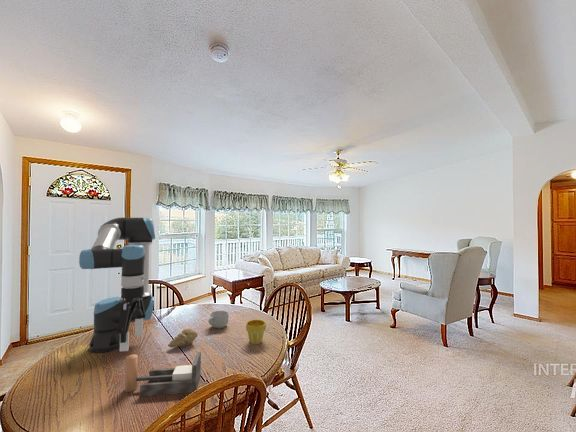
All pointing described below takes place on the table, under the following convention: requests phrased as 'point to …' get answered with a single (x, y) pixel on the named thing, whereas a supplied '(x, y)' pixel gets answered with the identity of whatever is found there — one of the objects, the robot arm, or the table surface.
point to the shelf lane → (174, 386)
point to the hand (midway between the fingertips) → (131, 342)
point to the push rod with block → (131, 376)
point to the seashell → (184, 338)
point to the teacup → (219, 319)
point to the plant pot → (255, 330)
